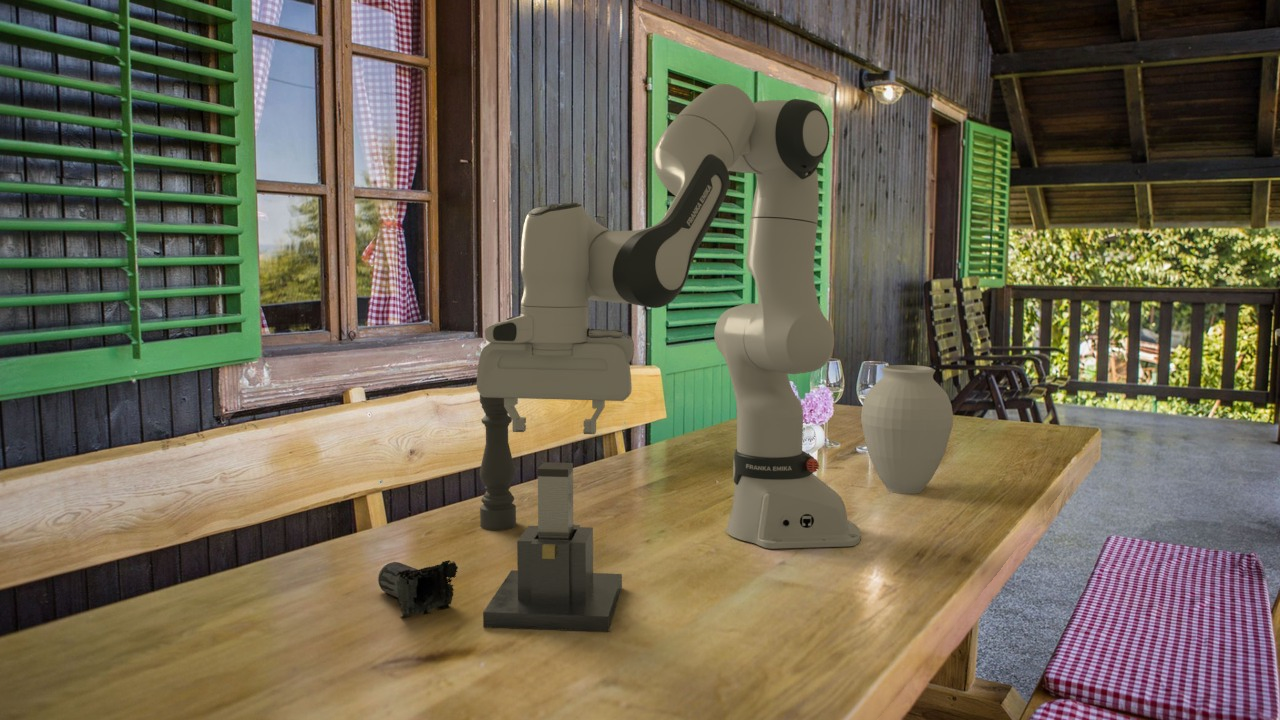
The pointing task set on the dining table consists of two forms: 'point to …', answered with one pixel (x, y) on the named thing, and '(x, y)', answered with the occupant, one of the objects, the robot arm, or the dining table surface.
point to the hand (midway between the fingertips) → (554, 432)
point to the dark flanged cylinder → (419, 586)
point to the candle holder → (497, 468)
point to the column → (555, 501)
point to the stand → (555, 587)
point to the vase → (906, 427)
